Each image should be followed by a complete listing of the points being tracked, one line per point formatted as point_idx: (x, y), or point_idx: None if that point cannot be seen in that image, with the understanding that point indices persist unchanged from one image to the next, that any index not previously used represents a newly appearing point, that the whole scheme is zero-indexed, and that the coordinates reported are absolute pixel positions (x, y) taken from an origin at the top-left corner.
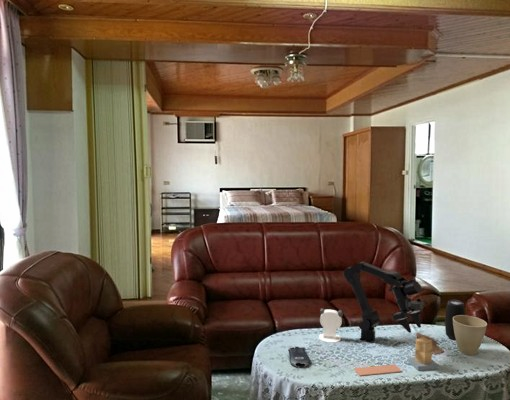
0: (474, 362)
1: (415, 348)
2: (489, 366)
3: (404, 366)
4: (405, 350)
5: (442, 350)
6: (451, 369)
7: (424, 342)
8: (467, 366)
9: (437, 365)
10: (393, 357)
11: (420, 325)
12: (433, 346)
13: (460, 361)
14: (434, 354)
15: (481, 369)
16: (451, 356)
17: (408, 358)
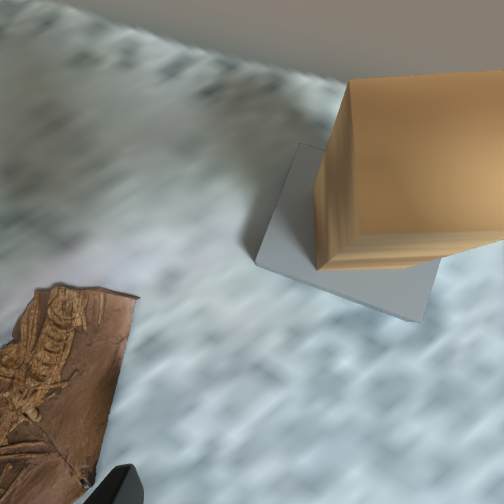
0: (29, 102)
1: (457, 251)
2: (10, 36)
3: (482, 292)
4: (262, 470)
5: (33, 304)
6: (231, 113)
7: (500, 94)
8: (113, 91)
9: (304, 148)
10: (450, 439)
11: (103, 489)
12: (30, 377)
13: (85, 149)
14: (135, 297)
15: (82, 35)
16: (65, 220)
17: (421, 319)
